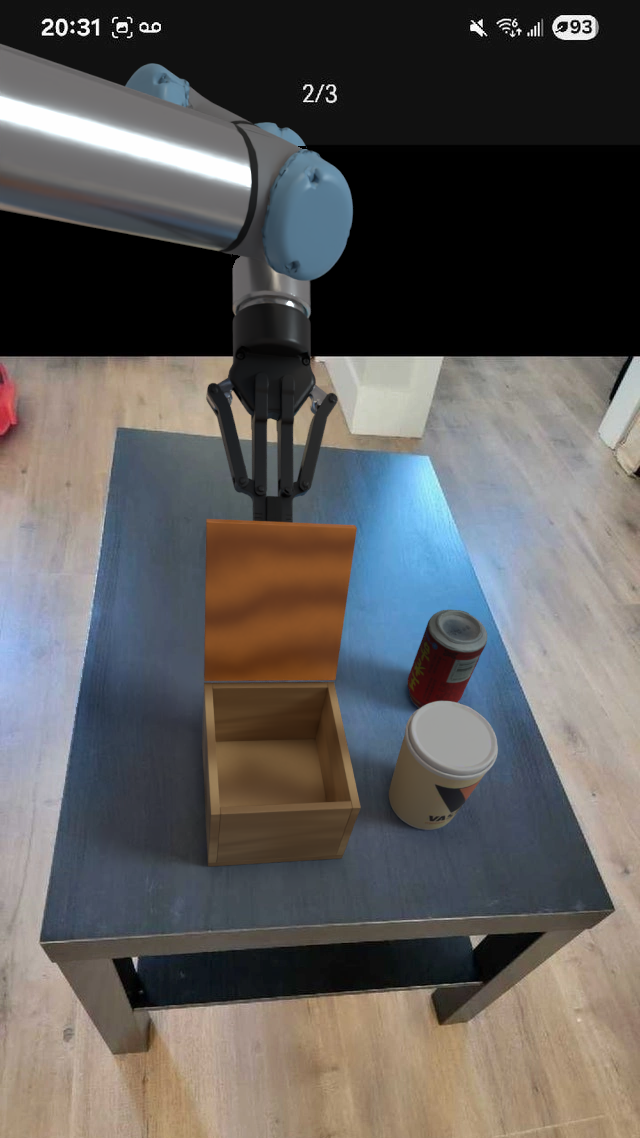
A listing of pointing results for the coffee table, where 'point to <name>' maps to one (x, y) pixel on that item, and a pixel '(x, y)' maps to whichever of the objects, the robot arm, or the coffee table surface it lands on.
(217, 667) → the lid
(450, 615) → the soda can
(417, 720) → the coffee cup
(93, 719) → the coffee table surface
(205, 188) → the robot arm
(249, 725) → the chest
